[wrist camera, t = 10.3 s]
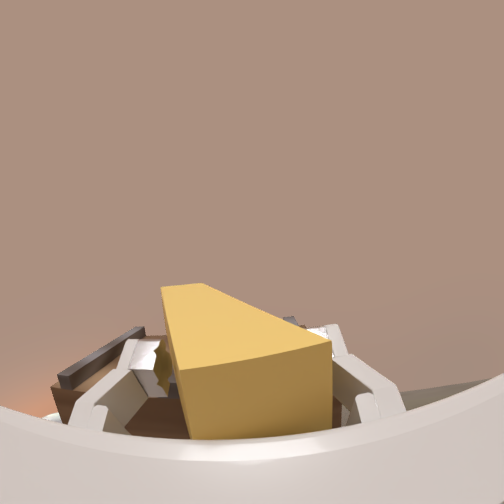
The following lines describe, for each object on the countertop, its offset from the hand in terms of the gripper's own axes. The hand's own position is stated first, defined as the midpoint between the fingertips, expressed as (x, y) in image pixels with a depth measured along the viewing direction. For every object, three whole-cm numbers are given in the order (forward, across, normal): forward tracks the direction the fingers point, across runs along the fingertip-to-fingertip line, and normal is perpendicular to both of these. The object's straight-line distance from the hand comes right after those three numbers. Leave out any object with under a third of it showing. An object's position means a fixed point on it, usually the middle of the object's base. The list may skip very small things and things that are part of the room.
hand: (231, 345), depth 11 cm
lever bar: (+4, -2, -6) cm, 7 cm away
